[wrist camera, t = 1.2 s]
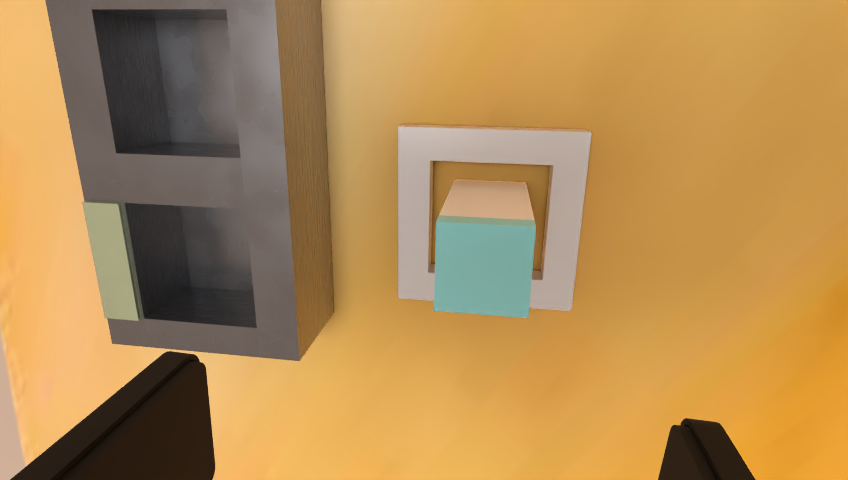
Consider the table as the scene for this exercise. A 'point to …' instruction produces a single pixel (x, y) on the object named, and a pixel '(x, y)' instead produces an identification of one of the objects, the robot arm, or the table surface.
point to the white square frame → (493, 146)
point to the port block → (202, 169)
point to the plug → (485, 249)
